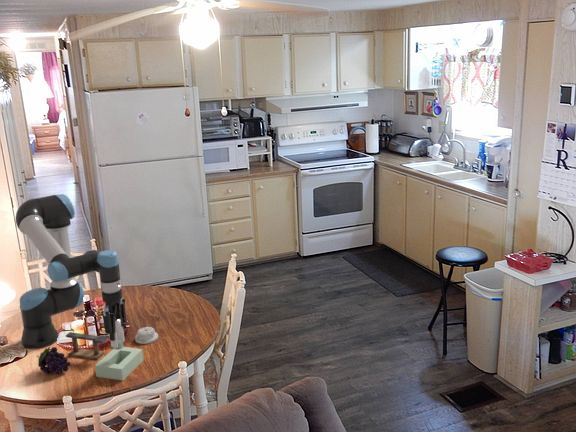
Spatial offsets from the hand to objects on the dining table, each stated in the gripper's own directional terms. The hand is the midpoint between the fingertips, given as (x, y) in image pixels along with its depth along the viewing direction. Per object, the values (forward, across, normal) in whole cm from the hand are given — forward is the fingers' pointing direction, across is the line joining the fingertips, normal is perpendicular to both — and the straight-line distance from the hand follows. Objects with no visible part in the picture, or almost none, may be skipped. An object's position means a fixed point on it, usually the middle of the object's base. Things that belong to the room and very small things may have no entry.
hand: (118, 343), depth 225 cm
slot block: (+11, 0, 0) cm, 11 cm away
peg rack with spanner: (+11, +6, +19) cm, 23 cm away
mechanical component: (+11, +25, +2) cm, 28 cm away
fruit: (+11, -8, +26) cm, 29 cm away
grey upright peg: (+1, 0, 0) cm, 1 cm away
